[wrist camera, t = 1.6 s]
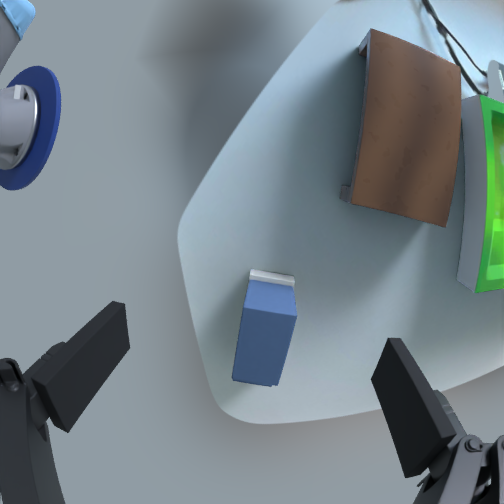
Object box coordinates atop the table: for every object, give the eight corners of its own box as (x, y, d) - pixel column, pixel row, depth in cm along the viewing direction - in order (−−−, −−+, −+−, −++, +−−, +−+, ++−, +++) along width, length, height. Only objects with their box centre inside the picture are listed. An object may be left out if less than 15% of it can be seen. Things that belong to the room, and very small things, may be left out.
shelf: (339, 198, 30) (350, 203, 26) (359, 45, 25) (370, 28, 20) (425, 219, 30) (445, 227, 25) (441, 76, 24) (460, 67, 20)
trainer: (236, 360, 38) (226, 405, 29) (251, 268, 34) (242, 301, 25) (272, 366, 37) (270, 411, 29) (294, 276, 33) (299, 311, 25)
